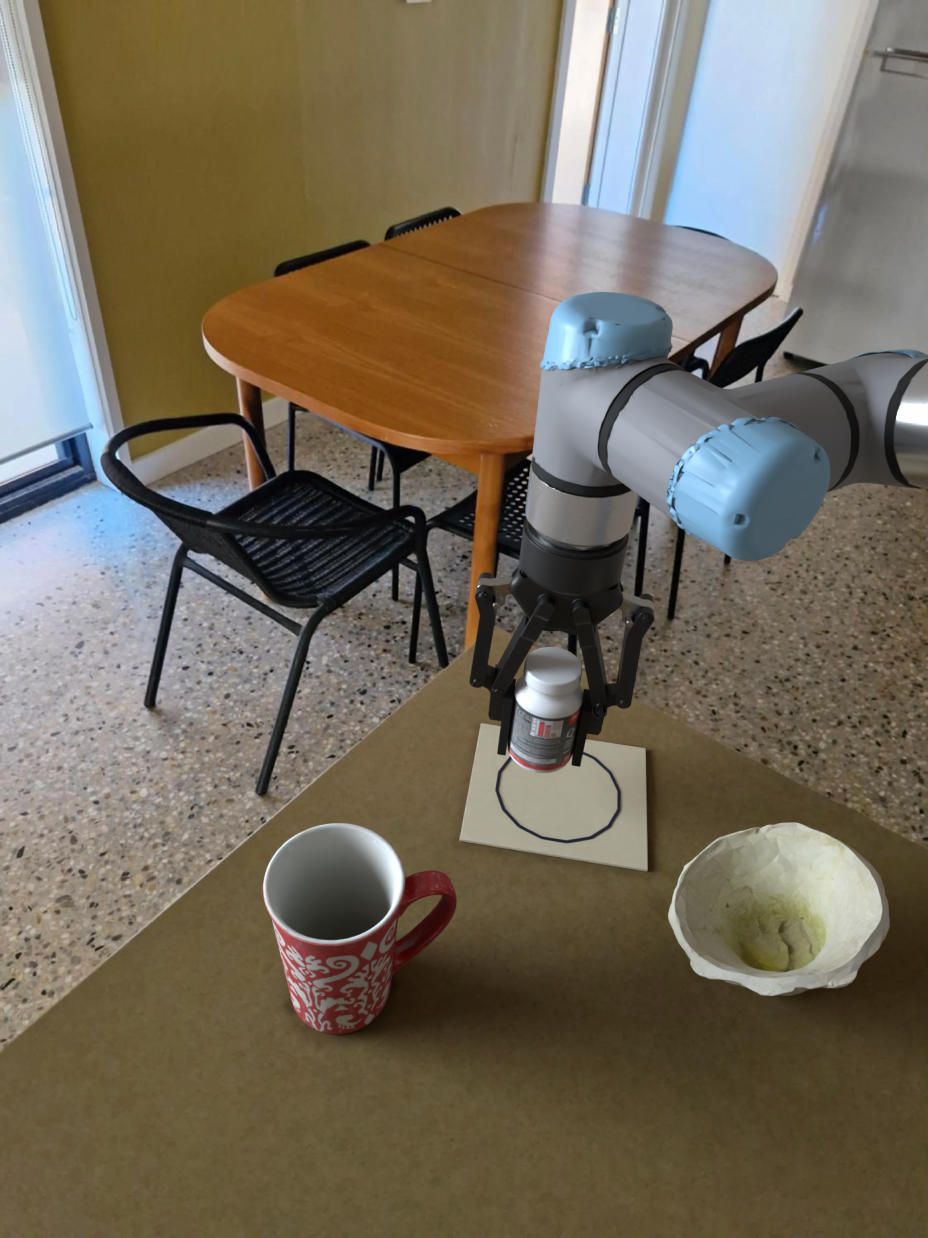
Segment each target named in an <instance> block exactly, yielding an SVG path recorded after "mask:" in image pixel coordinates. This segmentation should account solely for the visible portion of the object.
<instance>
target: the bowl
mask: <svg viewBox="0 0 928 1238" xmlns="http://www.w3.org/2000/svg"><path fill="white" fill-rule="evenodd" d="M883 883H884V882H883V880H882V877H881V875H880V874H879V873H878V871H877V870H876V868H875V867H874V866H873V865H872V864H871V863H870V862H869V861H868V860H867V859H866V858H864V857H863V855H861V854H860V853H859V852H858V851H857V850H855V849H854V848H852V847H851V846H849V845H848V844H847V843H845V842H844V841H842V840H840V839H838V838H837V837H835V836H832V835H830V834H828V833H825V832H823V831H820V830H817V829H814V828H811V826H808V825H805V824H803V823H800V822H795V821H794V822H792V821H791V822H790V821H789V822H787V821H786V822H780V823H776V824H767V825H764V826H762V827H759V826H756V827H750V828H748V829H744V830H739V831H735V832H733V833H732V832H731V833H729V834H726V835H722V836H719V837H718V838H716V839H715V840H713V841H712V842H711V843H710V844H708V845H707V846H706V847H705V848H703V850H702V851H701V852H699V853H698V854H697V855H696V856H695V857H693V858H692V860H690V861H688V862H687V863H686V864H685V865H684V866H683V870H682V872H681V873H680V875H679V877H678V880H677V884H676V887H675V889H674V891H673V894H672V899H671V903H670V906H669V910H668V914H667V919H668V922H669V924H670V927H671V928H672V931H673V933H674V935H675V938H676V940H677V942H678V944H679V945H680V947H681V948H682V949H683V950H684V952H685V954H686V956H687V957H688V959H689V962H690V963H689V964H690V967H691V969H692V970H693V972H694V973H695V974H697V975H698V976H700V977H704V978H707V979H709V980H722V981H724V982H725V983H728V984H729V985H730V984H731V985H735V986H736V985H737V986H740V987H743V988H747V989H749V990H751V991H752V992H755V993H757V994H758V995H759V996H768V997H774V996H783V997H784V996H785V997H791V996H796V995H799V994H802V993H804V992H807V991H808V990H813V989H820V988H823V989H839V988H845V987H847V986H848V985H851V984H852V983H853V982H854V981H855V979H856V978H857V974H858V971H859V969H860V968H861V966H862V964H863V963H865V962H867V960H869V959H870V958H872V957H873V956H874V955H875V954H876V953H877V952H878V951H879V949H880V948H881V945H882V943H883V942H884V941H885V940H886V937H887V935H888V932H889V930H890V914H889V913H890V909H889V908H890V907H889V901H888V899H887V896H886V889H885V886H884V884H883Z"/></svg>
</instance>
